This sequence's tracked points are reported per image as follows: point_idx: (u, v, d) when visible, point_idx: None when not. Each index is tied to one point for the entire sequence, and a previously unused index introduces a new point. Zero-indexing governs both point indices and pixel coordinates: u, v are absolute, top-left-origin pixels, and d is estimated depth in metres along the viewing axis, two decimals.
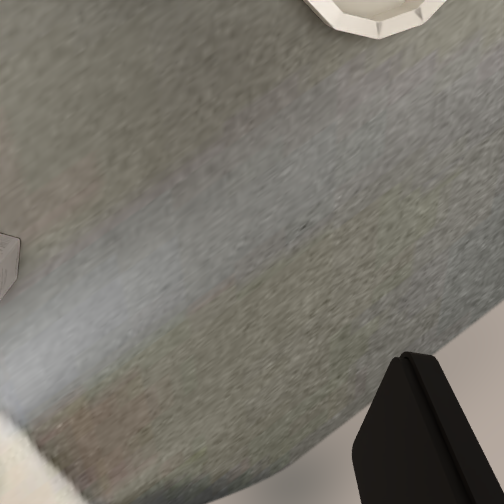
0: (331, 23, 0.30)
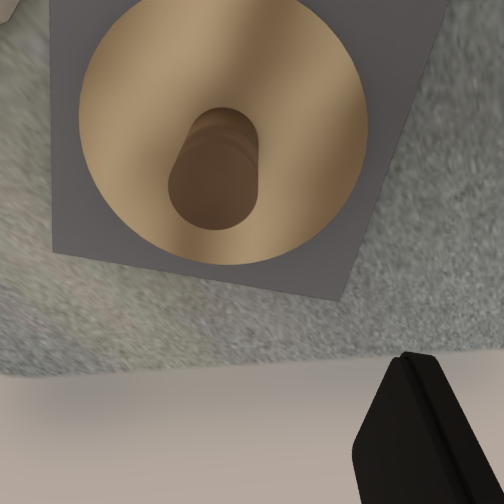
0: None
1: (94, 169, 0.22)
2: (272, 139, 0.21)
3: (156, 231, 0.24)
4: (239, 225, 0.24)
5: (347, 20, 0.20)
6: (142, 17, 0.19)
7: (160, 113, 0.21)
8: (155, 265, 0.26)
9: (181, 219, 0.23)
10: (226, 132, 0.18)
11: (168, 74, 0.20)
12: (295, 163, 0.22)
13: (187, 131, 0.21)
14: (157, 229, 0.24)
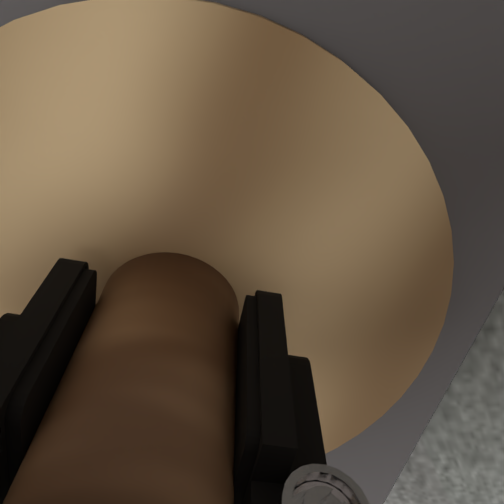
0: None
1: None
2: None
3: None
4: None
5: (422, 82, 0.09)
6: None
7: (40, 263, 0.10)
8: None
9: None
10: (153, 378, 0.07)
11: (47, 195, 0.10)
12: (309, 341, 0.12)
13: (98, 293, 0.11)
14: None
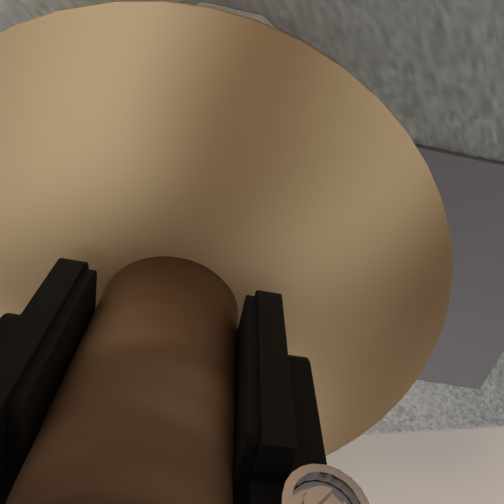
0: None
1: None
2: None
3: None
4: None
5: None
6: None
7: (40, 267, 0.10)
8: None
9: None
10: (152, 383, 0.07)
11: (47, 199, 0.10)
12: (309, 344, 0.12)
13: (98, 296, 0.11)
14: None
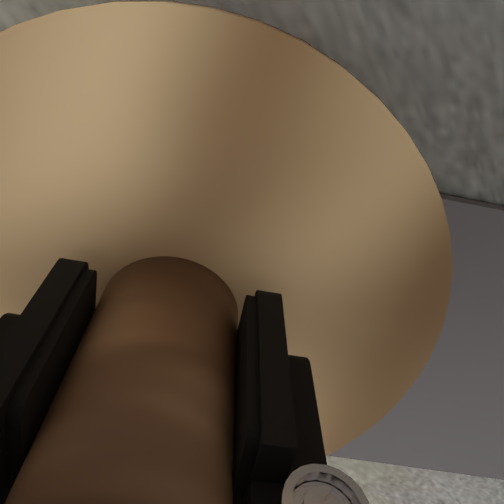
0: None
1: None
2: None
3: None
4: None
5: None
6: None
7: (40, 267, 0.10)
8: (371, 457, 0.27)
9: None
10: (152, 383, 0.07)
11: (46, 199, 0.10)
12: (308, 344, 0.12)
13: (98, 296, 0.11)
14: None
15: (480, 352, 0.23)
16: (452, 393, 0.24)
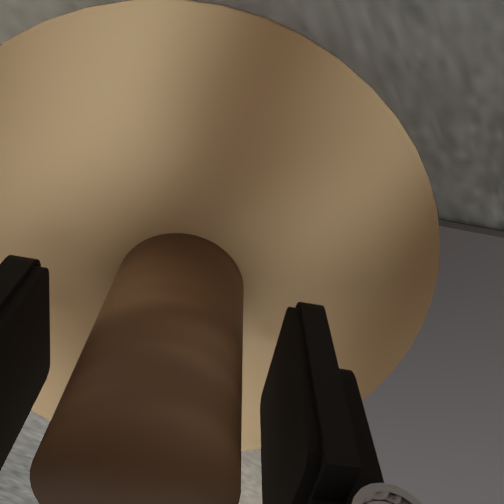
0: None
1: None
2: (268, 282, 0.12)
3: None
4: None
5: None
6: (7, 77, 0.10)
7: (62, 243, 0.11)
8: None
9: None
10: (170, 336, 0.08)
11: (70, 180, 0.11)
12: None
13: (115, 271, 0.12)
14: None
15: (498, 394, 0.21)
16: (466, 437, 0.22)
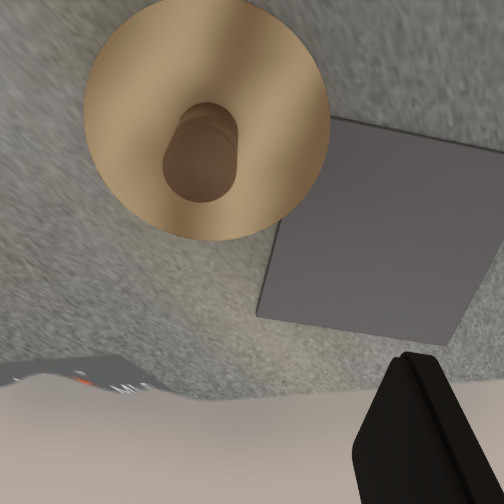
0: None
1: (96, 157, 0.26)
2: (250, 129, 0.25)
3: (150, 211, 0.27)
4: (223, 205, 0.27)
5: (476, 181, 0.32)
6: (138, 26, 0.23)
7: (153, 107, 0.24)
8: (324, 324, 0.38)
9: (172, 200, 0.27)
10: (210, 122, 0.21)
11: (160, 74, 0.24)
12: (270, 150, 0.26)
13: (177, 123, 0.25)
14: (151, 209, 0.27)
15: (393, 237, 0.34)
16: (377, 270, 0.35)
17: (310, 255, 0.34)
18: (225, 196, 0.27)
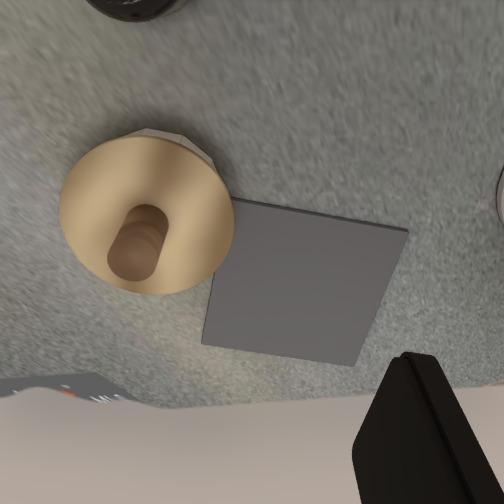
0: None
1: (69, 239, 0.36)
2: (176, 221, 0.36)
3: (109, 275, 0.38)
4: (161, 270, 0.38)
5: (360, 245, 0.42)
6: (94, 157, 0.33)
7: (108, 207, 0.35)
8: (255, 350, 0.48)
9: None
10: (140, 227, 0.32)
11: (111, 187, 0.34)
12: (192, 234, 0.36)
13: (125, 217, 0.35)
14: (110, 273, 0.38)
15: (302, 285, 0.44)
16: (292, 309, 0.46)
17: (239, 298, 0.45)
18: (163, 264, 0.37)
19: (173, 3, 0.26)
